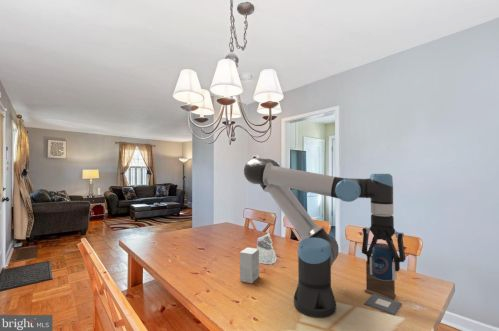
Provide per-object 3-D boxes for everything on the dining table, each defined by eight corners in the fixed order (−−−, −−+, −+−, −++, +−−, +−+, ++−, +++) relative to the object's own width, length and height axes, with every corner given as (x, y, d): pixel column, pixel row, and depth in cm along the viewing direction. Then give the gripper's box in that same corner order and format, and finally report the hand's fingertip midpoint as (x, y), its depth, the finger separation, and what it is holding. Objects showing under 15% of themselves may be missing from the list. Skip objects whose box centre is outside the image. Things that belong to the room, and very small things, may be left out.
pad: (394, 315, 84) (394, 313, 84) (364, 304, 91) (364, 302, 91) (401, 304, 91) (401, 302, 91) (372, 295, 98) (372, 293, 98)
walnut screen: (392, 301, 93) (392, 269, 94) (365, 292, 100) (364, 262, 101) (395, 296, 97) (395, 265, 97) (369, 288, 104) (368, 259, 104)
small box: (246, 274, 118) (247, 247, 118) (259, 276, 115) (259, 248, 116) (239, 281, 110) (239, 252, 111) (252, 283, 108) (252, 253, 108)
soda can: (369, 277, 91) (369, 245, 92) (376, 272, 96) (375, 241, 97) (390, 283, 86) (389, 249, 87) (396, 277, 91) (395, 245, 92)
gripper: (415, 216, 88) (416, 281, 87) (358, 210, 102) (359, 266, 101) (410, 219, 83) (412, 288, 82) (351, 212, 96) (352, 272, 95)
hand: (383, 276), depth 91 cm, fingers closed on soda can, 7 cm apart
